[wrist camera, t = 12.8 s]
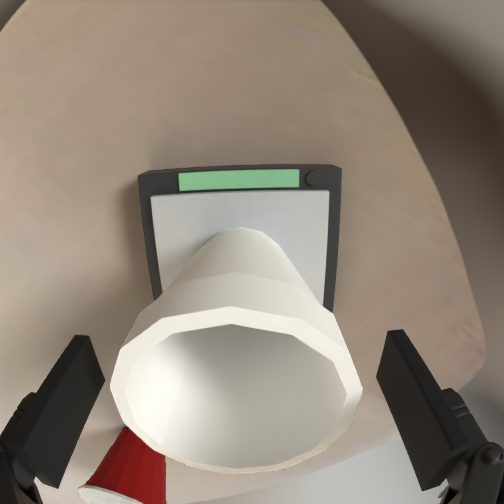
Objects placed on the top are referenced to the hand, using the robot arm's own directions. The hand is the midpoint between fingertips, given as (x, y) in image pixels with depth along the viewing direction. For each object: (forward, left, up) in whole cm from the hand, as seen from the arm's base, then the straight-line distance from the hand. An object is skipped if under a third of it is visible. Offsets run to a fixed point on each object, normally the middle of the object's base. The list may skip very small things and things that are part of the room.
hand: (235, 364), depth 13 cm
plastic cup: (+25, -14, -14) cm, 32 cm away
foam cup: (0, 0, -11) cm, 11 cm away
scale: (0, 0, -14) cm, 14 cm away
